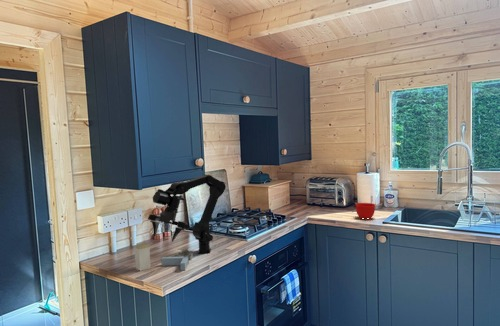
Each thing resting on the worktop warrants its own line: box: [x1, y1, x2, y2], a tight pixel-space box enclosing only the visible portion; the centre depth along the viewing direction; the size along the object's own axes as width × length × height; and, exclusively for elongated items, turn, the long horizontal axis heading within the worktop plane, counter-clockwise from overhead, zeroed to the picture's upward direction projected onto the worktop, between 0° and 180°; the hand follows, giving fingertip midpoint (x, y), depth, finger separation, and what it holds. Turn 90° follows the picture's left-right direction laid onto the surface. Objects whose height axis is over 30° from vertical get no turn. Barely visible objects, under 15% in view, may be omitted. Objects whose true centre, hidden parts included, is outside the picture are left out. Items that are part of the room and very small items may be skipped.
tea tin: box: [133, 242, 151, 272], centre depth 167 cm, size 5×5×11 cm
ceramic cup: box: [355, 202, 376, 220], centre depth 253 cm, size 13×17×10 cm
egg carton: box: [168, 248, 194, 261], centre depth 177 cm, size 11×8×4 cm
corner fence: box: [160, 256, 190, 272], centre depth 167 cm, size 10×12×4 cm
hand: (163, 239), depth 172 cm, fingers open, 9 cm apart
